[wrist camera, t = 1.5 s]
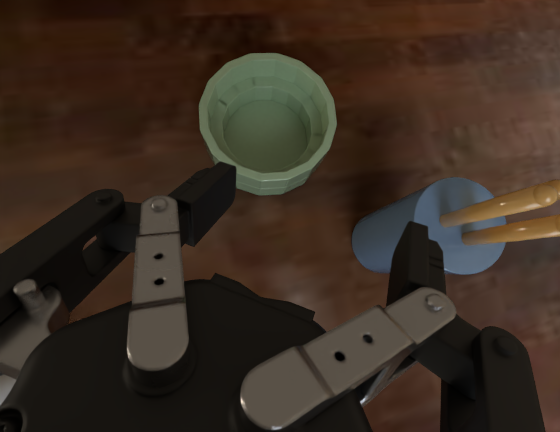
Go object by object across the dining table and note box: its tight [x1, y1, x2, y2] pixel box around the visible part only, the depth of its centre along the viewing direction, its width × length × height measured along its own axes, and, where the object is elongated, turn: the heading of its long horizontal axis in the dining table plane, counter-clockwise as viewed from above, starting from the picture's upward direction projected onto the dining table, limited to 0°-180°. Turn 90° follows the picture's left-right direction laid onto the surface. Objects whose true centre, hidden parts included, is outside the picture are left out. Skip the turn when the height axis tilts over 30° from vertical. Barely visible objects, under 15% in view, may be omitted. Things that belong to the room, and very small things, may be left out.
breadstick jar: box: [352, 177, 560, 274], centre depth 22 cm, size 6×6×19 cm
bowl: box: [199, 53, 337, 195], centre depth 29 cm, size 11×11×6 cm
